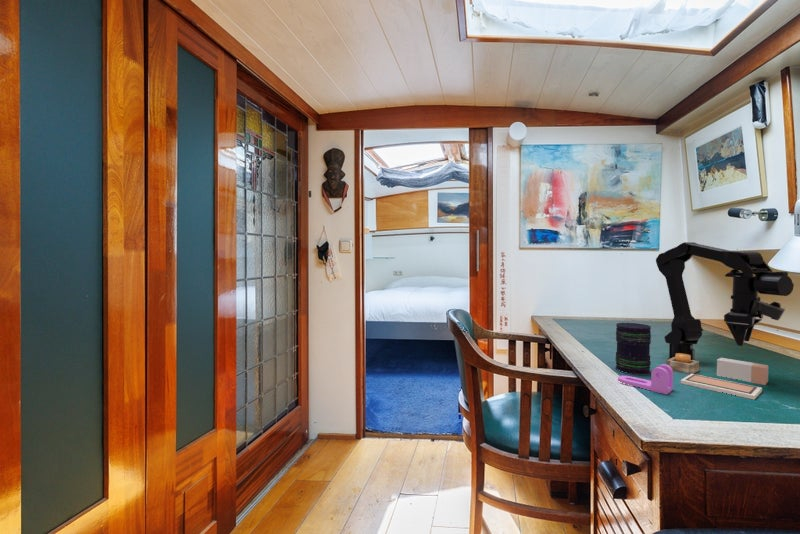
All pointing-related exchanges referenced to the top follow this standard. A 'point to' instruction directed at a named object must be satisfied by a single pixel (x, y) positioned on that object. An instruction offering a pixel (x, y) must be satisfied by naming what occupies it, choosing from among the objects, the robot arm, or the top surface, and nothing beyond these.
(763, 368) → the two-tone rectangular block
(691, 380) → the picture board
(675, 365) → the button block
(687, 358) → the button
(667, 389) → the bracket
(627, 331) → the storage jar
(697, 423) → the top surface
